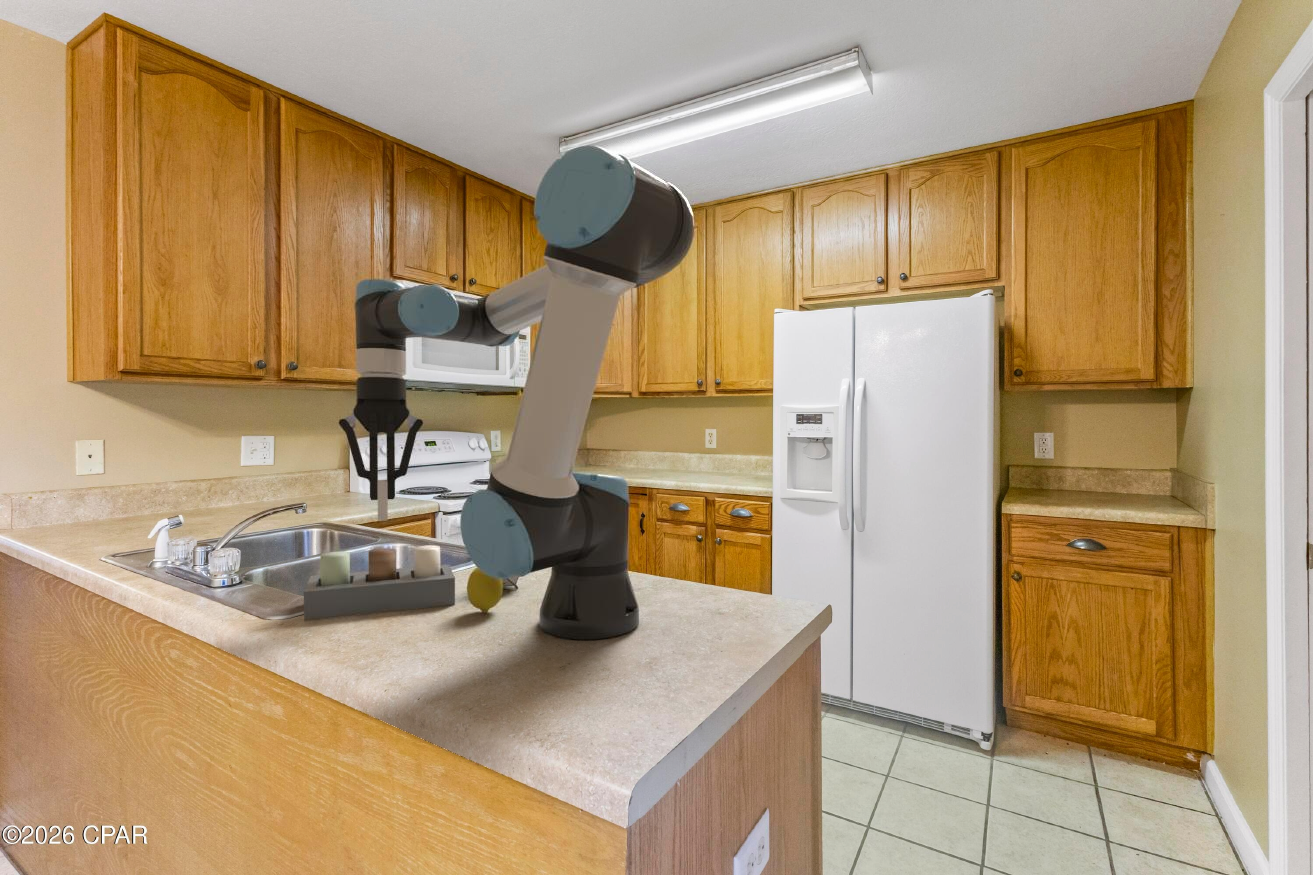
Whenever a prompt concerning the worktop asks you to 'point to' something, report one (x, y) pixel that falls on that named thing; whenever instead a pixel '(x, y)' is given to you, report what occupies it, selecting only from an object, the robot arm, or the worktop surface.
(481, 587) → the lemon
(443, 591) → the grey slotted block
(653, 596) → the worktop surface
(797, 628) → the worktop surface
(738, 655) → the worktop surface
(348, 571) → the key sage
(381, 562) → the key walnut
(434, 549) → the key ivory
